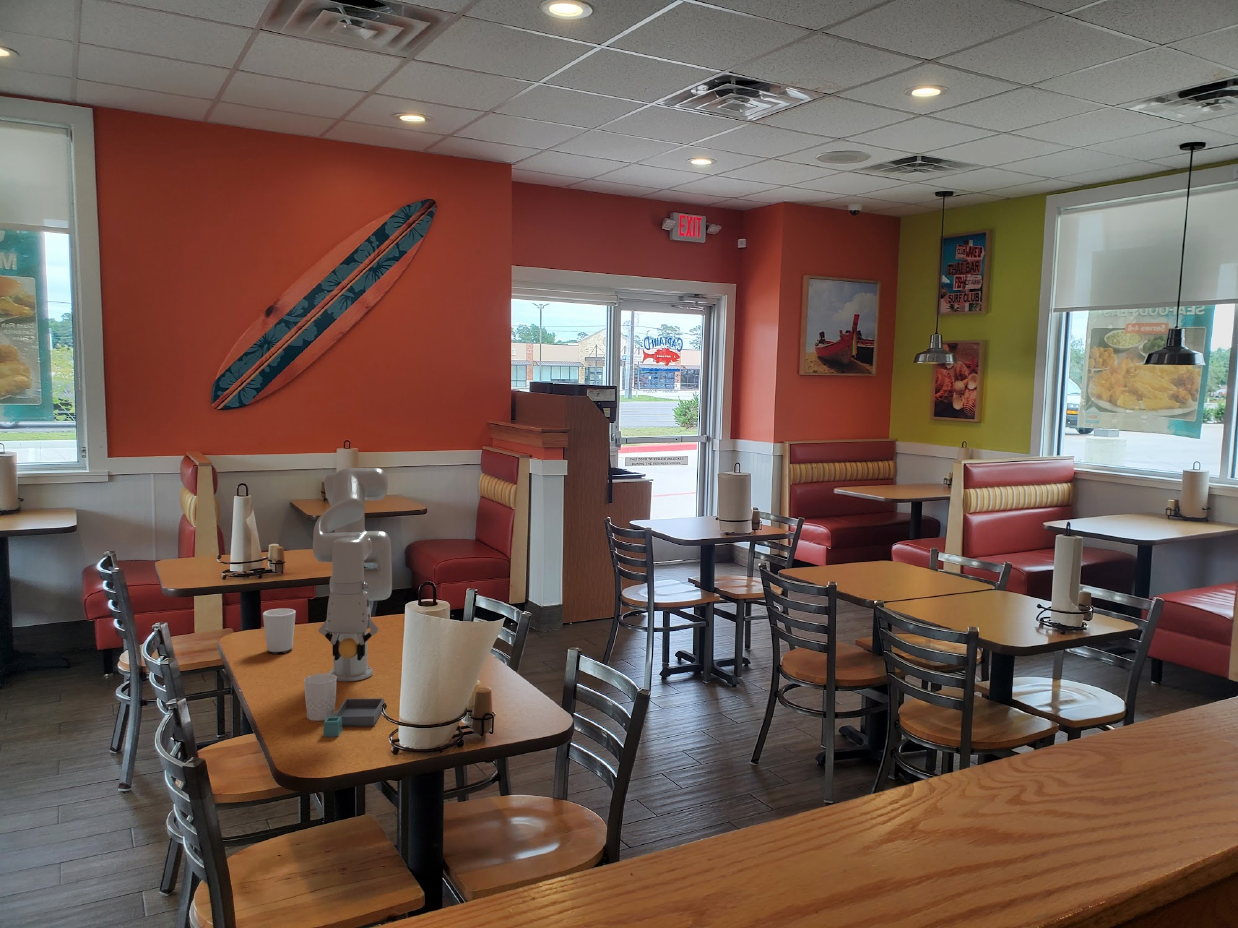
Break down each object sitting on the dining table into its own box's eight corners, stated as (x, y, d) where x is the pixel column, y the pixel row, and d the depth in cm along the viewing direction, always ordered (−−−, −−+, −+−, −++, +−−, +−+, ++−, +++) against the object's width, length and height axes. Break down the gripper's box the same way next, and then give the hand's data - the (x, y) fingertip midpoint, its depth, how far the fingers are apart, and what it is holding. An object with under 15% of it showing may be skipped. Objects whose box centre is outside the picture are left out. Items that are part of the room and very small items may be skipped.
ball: (341, 654, 223) (341, 635, 222) (361, 654, 223) (361, 635, 223) (336, 660, 218) (335, 641, 217) (356, 660, 218) (356, 641, 218)
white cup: (326, 723, 222) (326, 684, 221) (298, 720, 223) (297, 681, 222) (342, 712, 229) (342, 674, 228) (315, 709, 231) (314, 672, 230)
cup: (284, 644, 289) (284, 606, 288) (302, 650, 283) (302, 611, 282) (256, 651, 281) (256, 612, 280) (274, 657, 275) (274, 617, 274)
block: (327, 730, 216) (327, 716, 216) (342, 730, 217) (342, 716, 216) (323, 736, 213) (323, 722, 212) (338, 736, 213) (338, 721, 213)
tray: (345, 708, 232) (345, 698, 232) (384, 707, 233) (384, 698, 233) (333, 726, 219) (333, 716, 219) (374, 726, 220) (374, 716, 220)
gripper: (386, 584, 223) (386, 654, 225) (317, 583, 222) (318, 653, 224) (379, 591, 216) (380, 663, 217) (309, 590, 215) (310, 663, 216)
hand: (348, 657), depth 221 cm, fingers closed on ball, 4 cm apart
